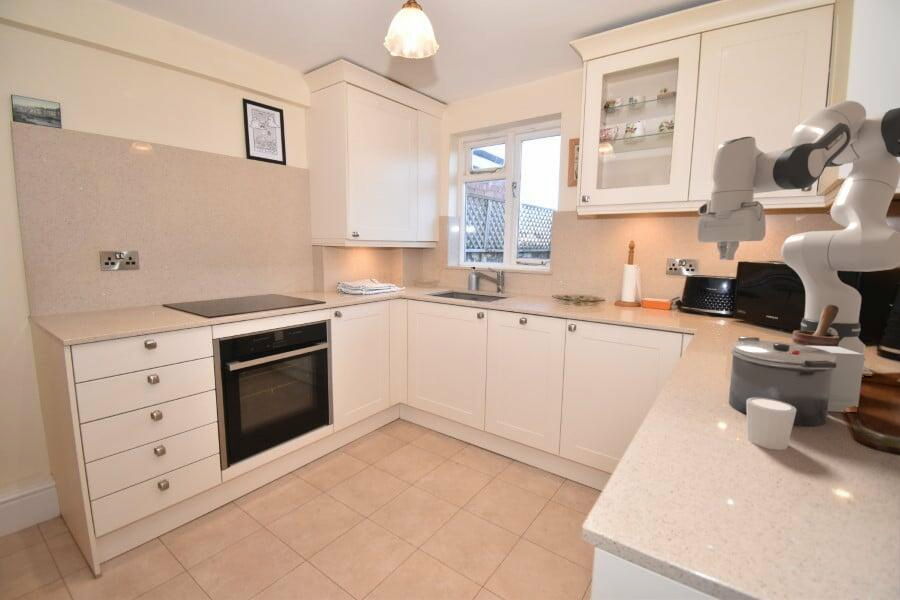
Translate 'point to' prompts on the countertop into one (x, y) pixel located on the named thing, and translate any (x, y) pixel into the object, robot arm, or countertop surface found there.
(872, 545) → the countertop surface
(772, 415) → the white tapered cup
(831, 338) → the mortar and pestle
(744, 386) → the cooker pot
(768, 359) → the cooker lid
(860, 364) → the supplement box
